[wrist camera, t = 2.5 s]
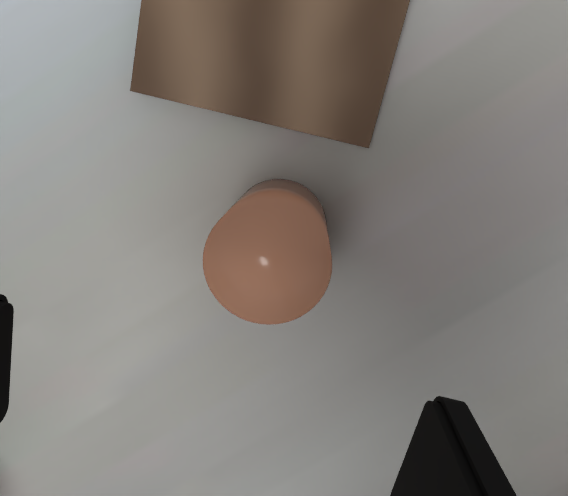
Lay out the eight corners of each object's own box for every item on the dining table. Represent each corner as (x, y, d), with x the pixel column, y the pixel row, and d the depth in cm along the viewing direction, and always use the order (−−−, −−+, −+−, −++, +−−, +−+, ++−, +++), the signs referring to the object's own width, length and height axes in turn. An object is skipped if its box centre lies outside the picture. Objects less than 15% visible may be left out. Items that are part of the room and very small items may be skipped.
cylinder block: (337, 191, 27) (347, 218, 20) (313, 280, 29) (314, 336, 21) (242, 169, 27) (215, 186, 20) (224, 259, 29) (192, 308, 21)
